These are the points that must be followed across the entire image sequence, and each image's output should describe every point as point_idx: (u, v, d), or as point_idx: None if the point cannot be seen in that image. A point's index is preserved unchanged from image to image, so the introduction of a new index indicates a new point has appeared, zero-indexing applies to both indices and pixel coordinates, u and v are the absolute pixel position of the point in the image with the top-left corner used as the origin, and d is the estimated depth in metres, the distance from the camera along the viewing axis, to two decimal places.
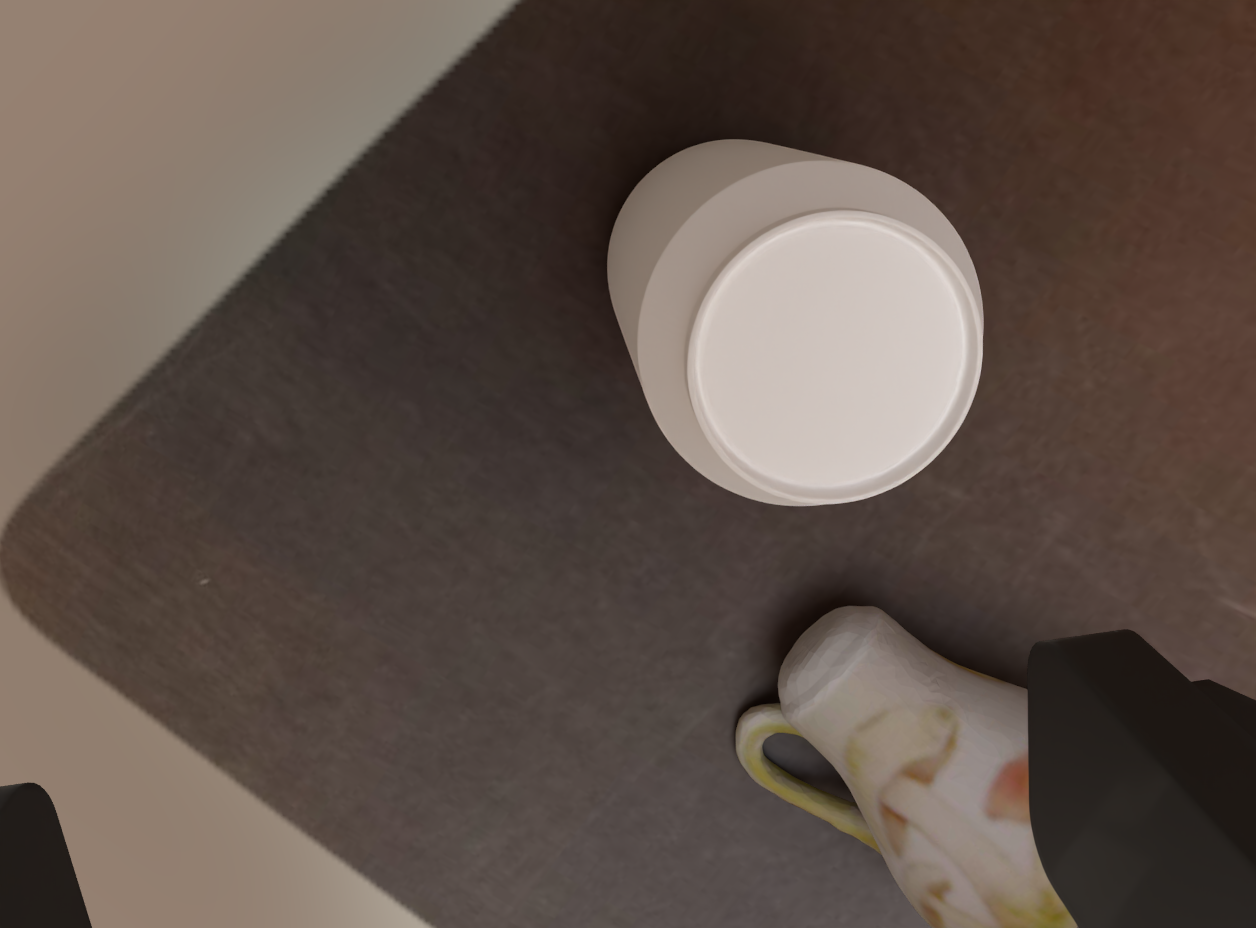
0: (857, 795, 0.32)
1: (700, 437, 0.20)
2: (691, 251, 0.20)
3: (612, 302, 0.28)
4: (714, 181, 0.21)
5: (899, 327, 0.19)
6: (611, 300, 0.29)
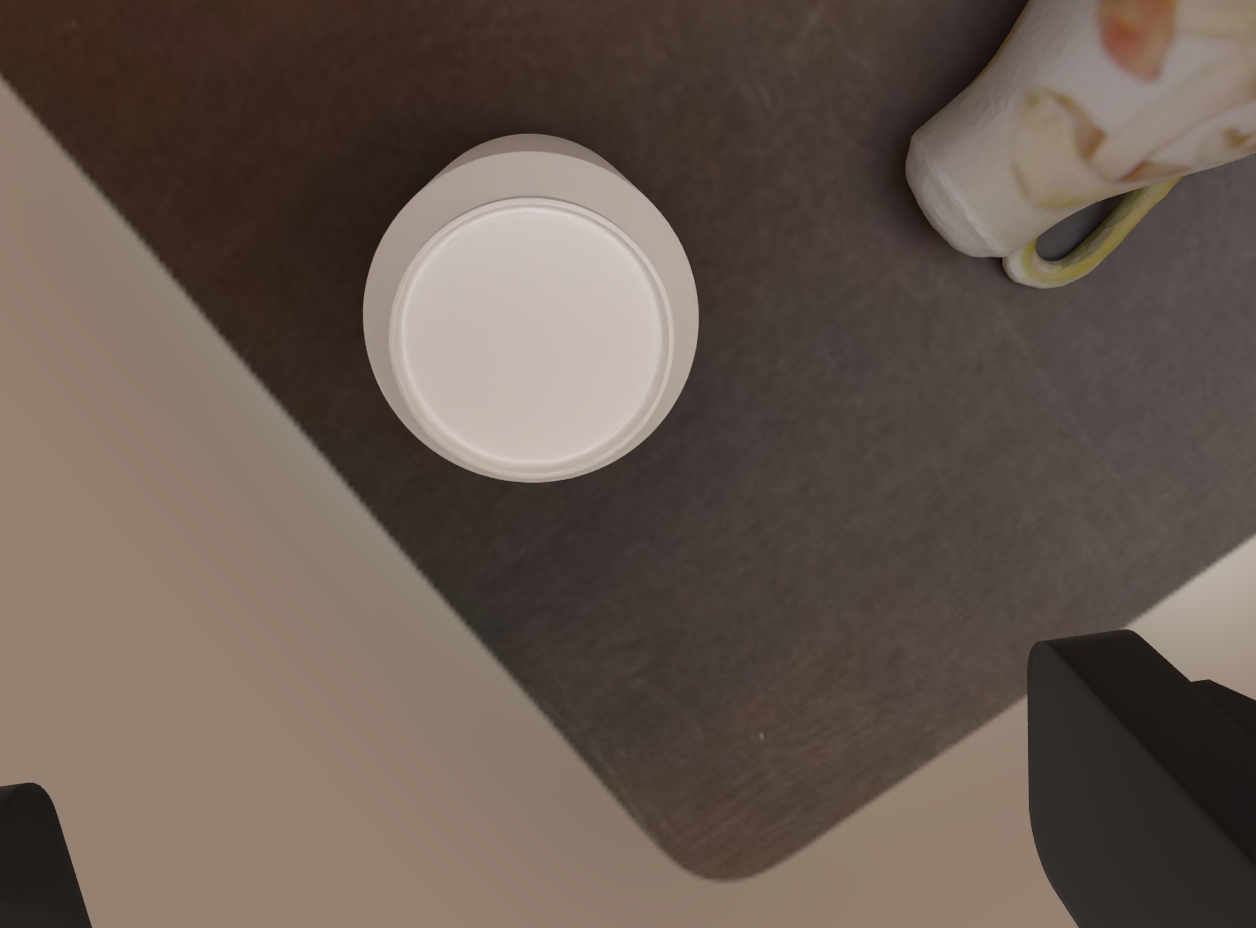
0: (1111, 196, 0.29)
1: None
2: (430, 440, 0.22)
3: None
4: None
5: (507, 275, 0.20)
6: None
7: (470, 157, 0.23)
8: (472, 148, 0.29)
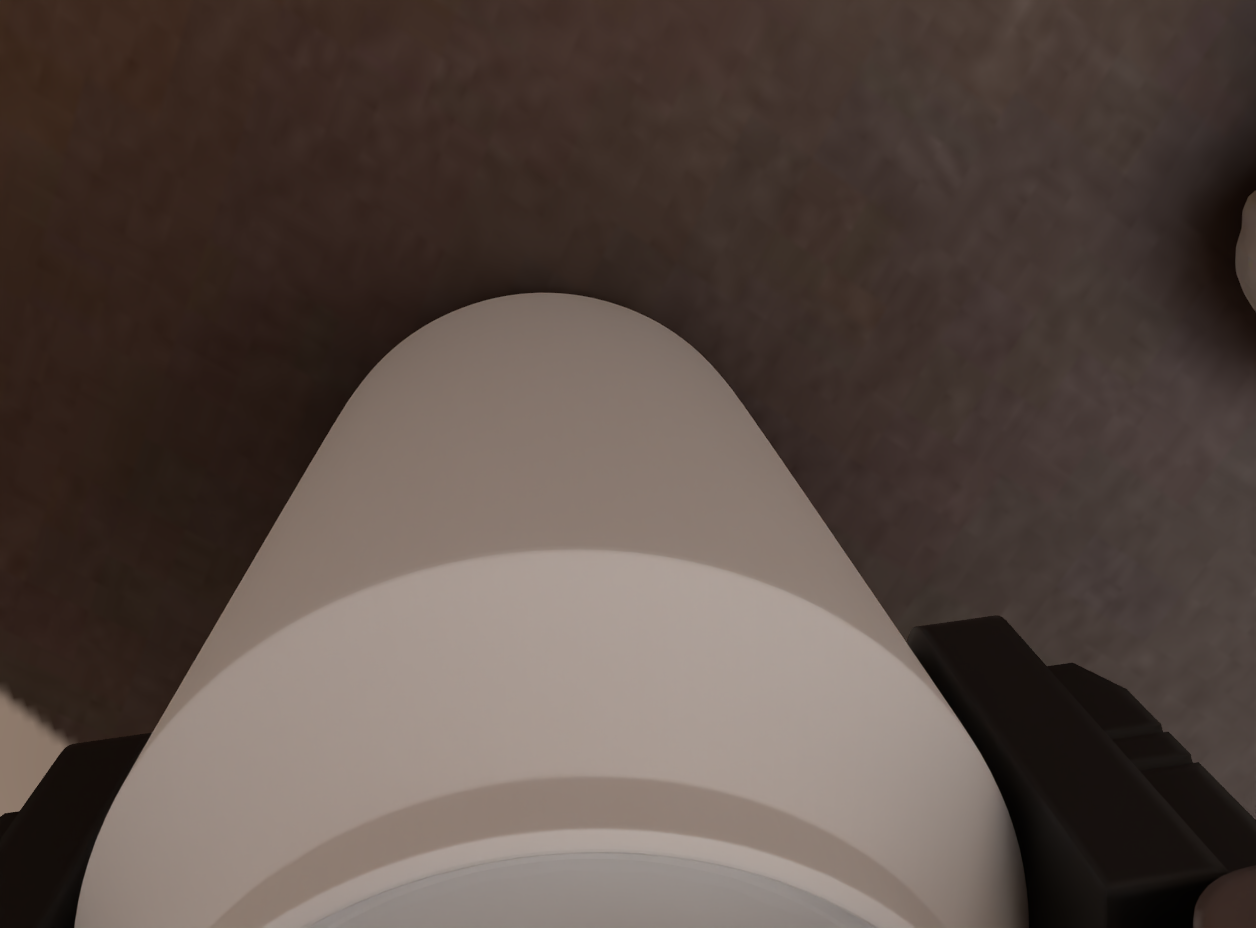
0: None
1: None
2: None
3: None
4: None
5: None
6: None
7: (349, 507, 0.09)
8: (403, 350, 0.14)
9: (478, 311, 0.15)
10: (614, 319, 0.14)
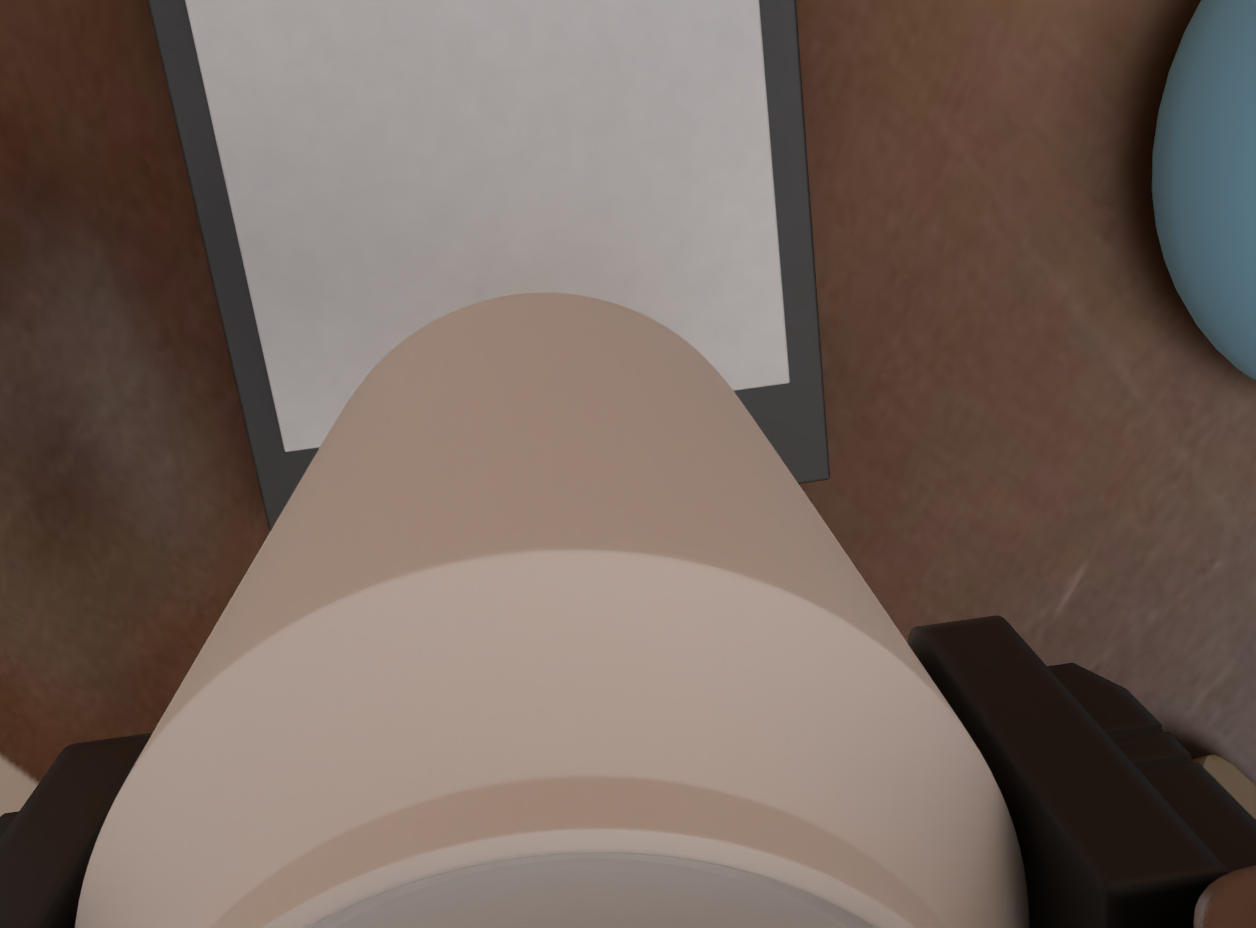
0: None
1: None
2: None
3: None
4: None
5: None
6: None
7: (349, 507, 0.09)
8: (403, 349, 0.14)
9: (478, 311, 0.15)
10: (614, 319, 0.14)
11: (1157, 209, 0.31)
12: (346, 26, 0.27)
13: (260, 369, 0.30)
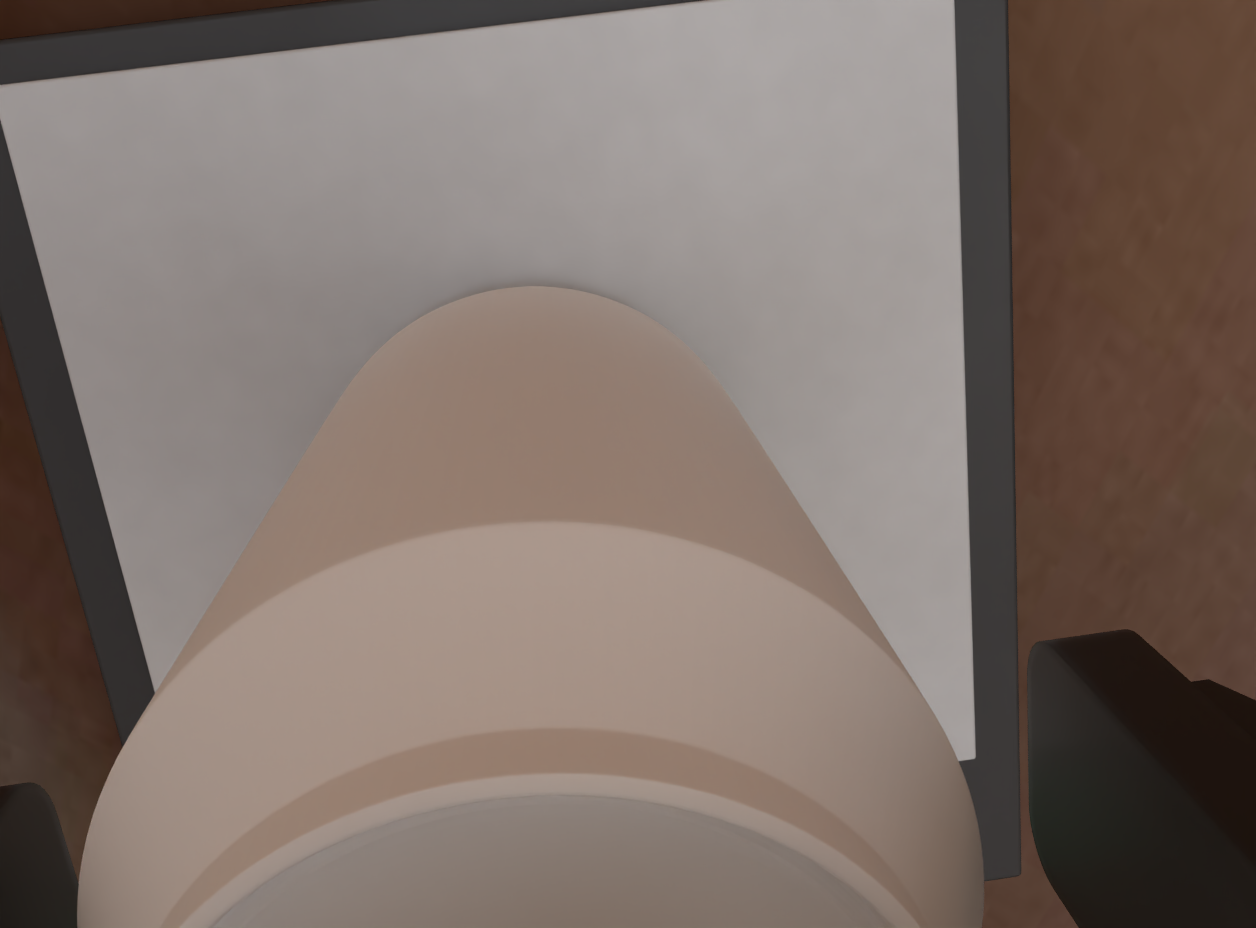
0: None
1: None
2: None
3: None
4: None
5: None
6: None
7: (339, 486, 0.09)
8: (397, 341, 0.15)
9: (470, 304, 0.15)
10: (601, 311, 0.15)
11: None
12: (292, 249, 0.17)
13: None
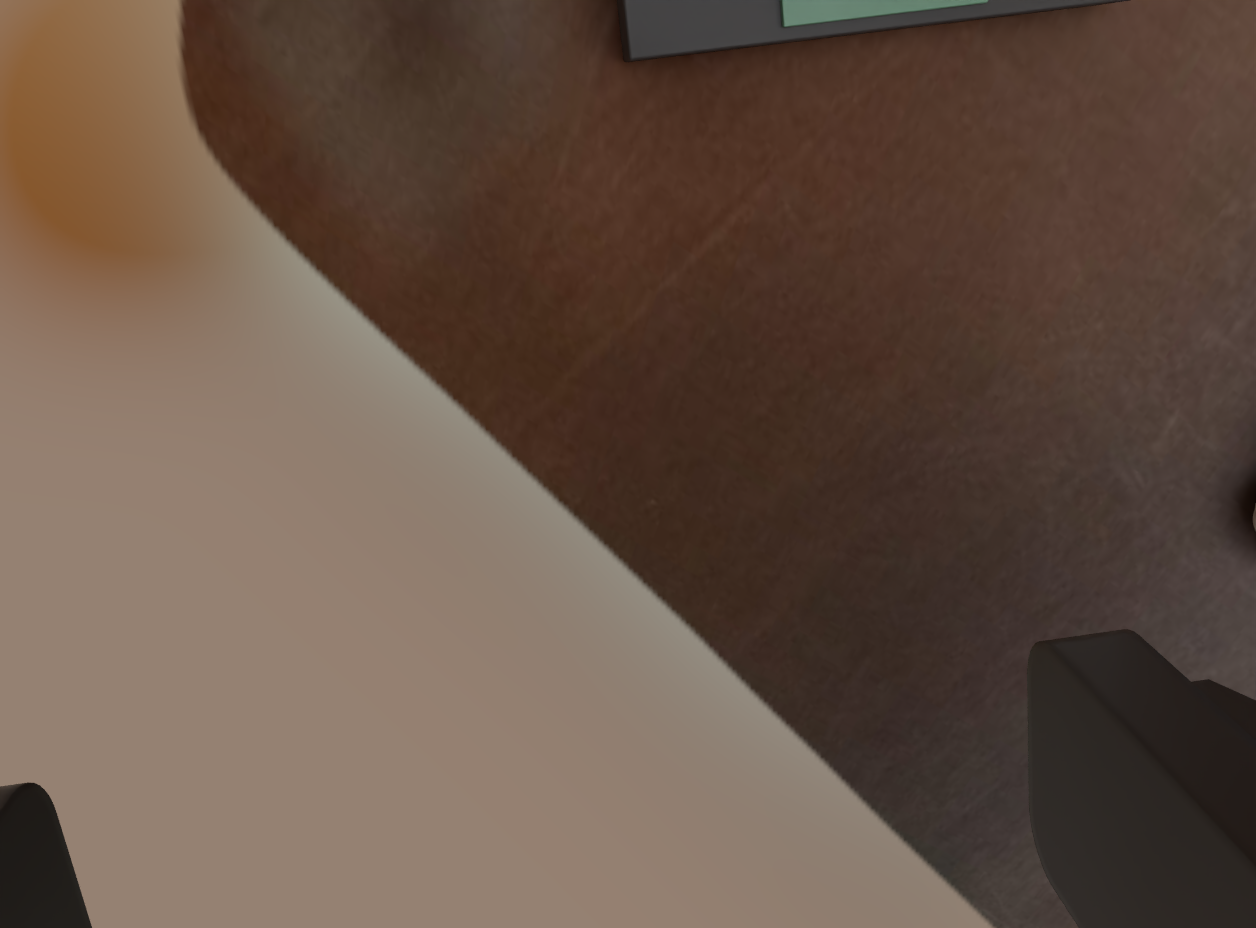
0: None
1: None
2: None
3: None
4: None
5: None
6: None
7: None
8: None
9: None
10: None
11: None
12: None
13: None
